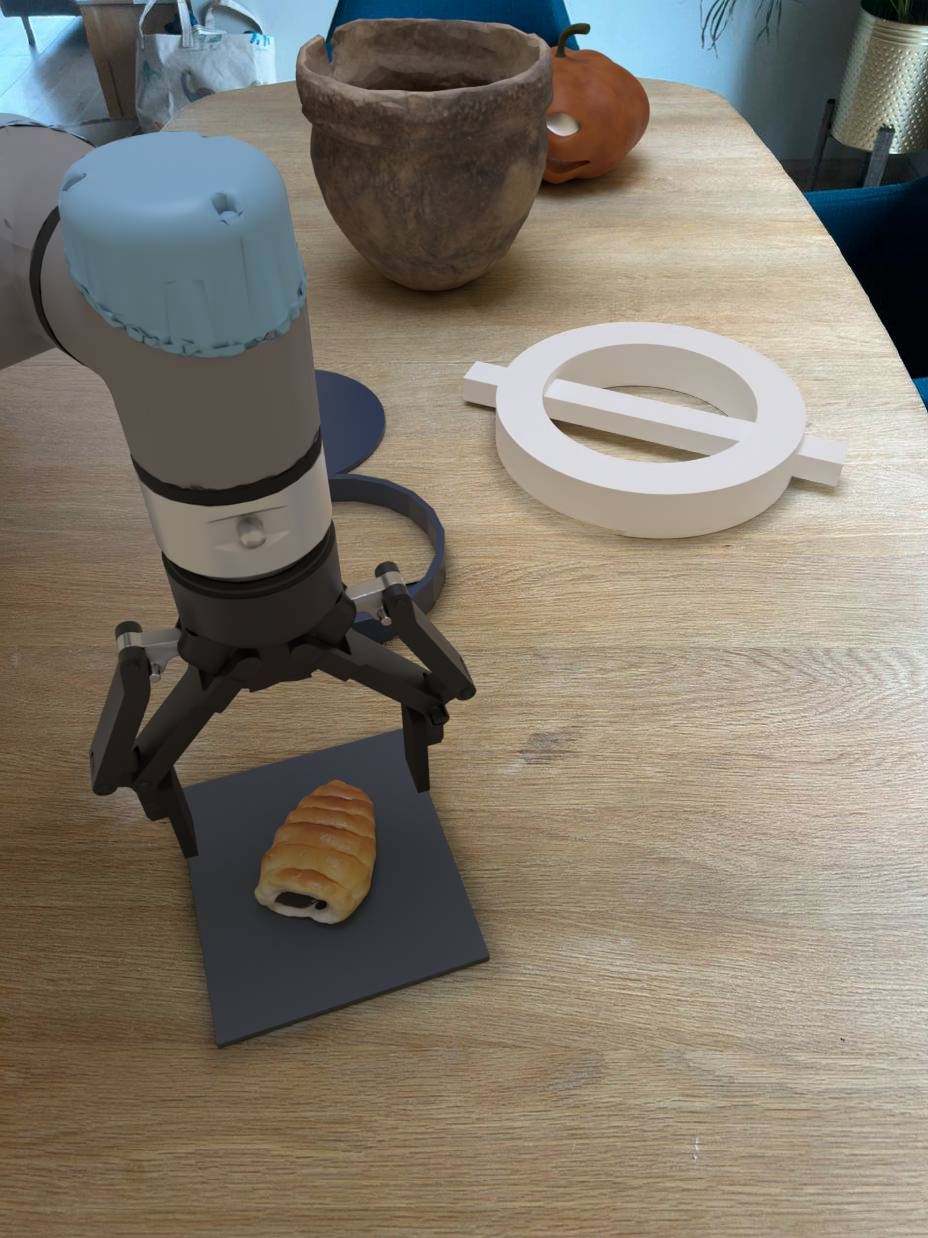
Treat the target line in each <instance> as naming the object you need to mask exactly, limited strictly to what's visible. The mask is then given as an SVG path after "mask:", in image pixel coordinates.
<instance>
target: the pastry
mask: <svg viewBox="0 0 928 1238" xmlns="http://www.w3.org/2000/svg"><path fill="white" fill-rule="evenodd" d="M375 826H376V825H375V817H374V807H373V804H372V802H371V800H370V799H369V797H368V795H367V794H365V793H364V792H363V791H362V790H361V789H359V788H357V787H354V786H352V785H348V784H345V783H344V782H342V781H340V780H333V781H331V782H329V783H328V784H326V785H321V786H320V787H318V788H317V789H316V790H315V791H314V792H313V793H312V794H310V795H309V796H305V797H304V798H303V799H302V800H301V801H300V802H299V804H298V807H297V809H296V810H294V811H291V812H290V813H289V815H288V816H287V818H286V821H285V823H284V825H283V826H281V827H279V828H278V829H277V831H276V834H275V837H274V841H273V845H272V847H271V849H269V850H267V851H266V852H265V854H264V855H263V858H262V860H261V876H260V880H259V884H258V886H257V888H256V889H255V897H256V899H257V900H258V902H259V903H260V904H262V905H265V906H268V908H269V909H271V910H273V911H275V912H277V913H280V914H283V915H286V916H297V917H311V918H313V919H314V920H316V921H318V922H322V923H328V924H334V923H337V922H340V921H343V920H344V919H346V918H347V917H348V916H349V915H350V914H351V913H353V912H354V910H355V909H356V908H357V906H358V905H359V904H360V903H361V901H362V900H363V899H364V897H365V896H366V895H367V893H368V891H369V889H370V884H371V876H372V872H373V866H374V862H375V858H376V838H375Z"/></svg>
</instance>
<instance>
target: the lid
mask: <svg viewBox="0 0 928 1238" xmlns="http://www.w3.org/2000/svg"><path fill="white" fill-rule="evenodd" d="M314 369H315V378H316V387H317V396H318V404H319V413H320V422H321V424H320V428H321V436H322V442H323V449H324V456H325V463H326V470H327V474H348V473H349V472H350V471H353V470H354V469H355V468H357V467H358V466H359V465H361V464H363V463H364V462H365V461H366V460H367V459H368V458H369V457H370V456H371V455H372V454H373V453H374V452H375V451H376V449H377V448H378V447H379V445H380V443H381V441H382V440H383V437H384V434H385V431H386V414H385V409H384V406H383V404H382V402H381V401H380V399H379V398H378V396H377V395H376V393H374V392H373V391H372V390H371V389H370V388H369V387H368V386H366V385H365V384H364V383H362V382H360V381H358V380H356V379H354V378H351V377H349V376H347V375H344V374H341V373H339V372H334V371H328V370H326V369H325V370H324V369H319V368H314Z"/></svg>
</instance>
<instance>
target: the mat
mask: <svg viewBox="0 0 928 1238" xmlns="http://www.w3.org/2000/svg"><path fill="white" fill-rule="evenodd" d="M333 780H340V781H342V782H344V783H345V784H348V785H352V786H354V787H357V788H359V789H361V790H362V791H363V792H364V793H365V794H367V795H368V797H369V799H370V800H371V802H372V804H373V807H374V817H375V825H376V826H375V838H376V858H375V862H374V866H373V872H372V876H371V884H370V889H369V891H368V893H367V895H366V896H365V897H364V899H363V900H362V901H361V903H360V904H359V905H358V906H357V908H356V909H355V910H354V912H353V913H351V914H350V915H349V916H348V917H347V918H346V919H344V920H343V921H340V922H337V923H334V924H328V923H322V922H318V921H316V920H314V919H313V918H311V917H297V916H286V915H283V914H280V913H277V912H275V911H273V910H271V909H269V908H268V906H265V905H262V904H260V903H259V902H258V900H257V899H256V897H255V889H256V888H257V886H258V884H259V880H260V876H261V860H262V858H263V855H264V854H265V852H266V851H267V850H269V849H271V847H272V845H273V841H274V837H275V834H276V831H277V829H278V828H279V827H281V826H283V825H284V823H285V821H286V818H287V816H288V815H289V813H290V812H291V811H294V810H296V809H297V807H298V804H299V802H300V801H301V800H302V799H303V798H304V797H305V796H309V795H310V794H312V793H313V792H314V791H315V790H316V789H317V788H318V787H320V786H321V785H326V784H328V783H329V782H331V781H333ZM182 790H183V793H184V795H185V798H186V801H187V804H188V806H189V809H190V812H191V815H192V818H193V824H194V830H195V836H196V842H197V848H198V854H199V855H198V856H194V857H191V858H187V864H188V871H189V876H190V882H191V883H190V884H191V889H192V895H193V902H194V908H195V909H194V910H195V914H196V921H197V927H198V935H199V940H200V946H201V952H202V959H203V965H204V972H205V978H206V984H207V990H208V991H207V992H208V997H209V1004H210V1010H211V1016H212V1022H213V1030H214V1034H215V1041H216V1046H217V1048H219V1049H220V1048H221V1049H222V1048H223V1047H227V1046H229V1045H233V1044H236V1043H240V1042H243V1041H246V1040H248V1039H251V1038H254V1037H257V1036H260V1035H263V1034H266V1033H269V1032H273V1031H276V1030H279V1029H282V1028H284V1027H288V1026H290V1025H294V1024H297V1023H299V1022H303V1021H306V1020H309V1019H312V1018H315V1017H318V1016H321V1015H324V1014H328V1013H331V1012H334V1011H336V1010H339V1009H343V1008H347V1007H349V1006H352V1005H355V1004H358V1003H362V1002H364V1001H367V1000H370V999H373V998H376V997H379V996H383V995H386V994H388V993H392V992H394V991H398V990H401V989H404V988H407V987H410V986H413V985H416V984H419V983H423V982H426V981H429V980H431V979H435V978H437V977H440V976H444V975H446V974H450V973H453V972H456V971H459V970H462V969H465V968H468V967H471V966H474V965H477V964H480V963H484V962H486V961H489V960H490V958H491V957H490V952H489V950H488V947H487V944H486V942H485V939H484V937H483V934H482V931H481V928H480V926H479V923H478V921H477V918H476V914H475V912H474V909H473V907H472V904H471V902H470V899H469V896H468V893H467V891H466V889H465V886H464V883H463V880H462V877H461V874H460V872H459V869H458V866H457V864H456V861H455V859H454V855H453V853H452V851H451V848H450V845H449V842H448V839H447V837H446V834H445V831H444V829H443V826H442V824H441V821H440V818H439V815H438V813H437V810H436V807H435V804H434V802H433V799H432V797H431V794H430V790H429V791H425V792H422V793H418V792H417V789H416V787H415V784H414V781H413V778H412V776H411V773H410V770H409V767H408V764H407V762H406V759H405V749H404V737H403V727H401V728H398V729H394V730H391V731H387V732H384V733H383V732H382V733H379V734H376V735H371V736H368V737H365V738H360V739H357V740H353V741H349V742H346V743H342V744H338V745H334V746H331V747H327V748H324V749H320V750H317V751H312V752H309V753H305V754H301V755H297V756H294V757H291V758H286V759H283V760H279V761H276V762H272V763H268V764H265V765H264V764H263V765H260V766H257V767H254V768H250V769H249V768H248V769H246V770H242V771H239V772H234V773H231V774H227V775H223V776H219V777H216V778H212V779H209V780H205V781H201V782H198V783H193V784H190V785H187V786H183V787H182Z"/></svg>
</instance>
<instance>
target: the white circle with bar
mask: <svg viewBox="0 0 928 1238" xmlns="http://www.w3.org/2000/svg"><path fill="white" fill-rule="evenodd" d="M627 386H628V387H629V386H634V387H635V386H638V387H639V386H640V387H651V388H652V387H653V388H659V389H666V390H672V391H675V392H679V393H682V394H685V395H689V396H692V397H695V398H697V399H699V400H702V401H703V402H706V403H708V404H710V405H711V406H714V407H715V408H717V409H718V410H719V411H721V412H723V413H724V415H722V414H719V413H713V412H709V411H704V410H699V409H695V408H691V407H687V406H682V405H677V404H673V403H667V402H665V401H660V400H655V399H650V398H647V397H641V396H636V395H633V394H627V393H624V392H619V391H614V390H609V389H608V388H613V387H627ZM462 400H463V401H464V402H465V401H466V402H470V403H474V404H478V405H482V406H487V407H491V408H495V446H496V451H497V454H498V457H499V459H500V462H501V464H502V465H503V468H504V469H505V471H506V472H507V473H508V475H509V476H510V477H511V478H512V480H513V481H514V482H515V483H516V484H517V485H518V486H519V487H520V488H521V489H522V490H523V491H525V492H526V493H527V494H528V495H530V496H531V497H532V498H533V499H535V500H537V501H538V502H540V503H541V504H543V505H544V506H546V507H548V508H549V509H552V510H553V511H555V512H558V513H560V514H562V515H564V516H567V517H568V518H571V519H574V520H577V521H580V522H583V523H586V524H589V525H592V526H596V527H602V528H605V529H608V530H616V531H619V532H618V533H615V536H616V535H617V536H623V537H629V538H630V537H631V538H638V539H639V538H640V539H662V540H663V539H664V540H665V539H680V538H691V537H699V536H703V535H710V534H714V533H718V532H721V531H724V530H728V529H731V528H734V527H736V526H739V525H740V524H743V523H746V522H748V521H750V520H752V519H754V518H756V517H757V516H759V515H761V514H763V512H765V511H766V510H768V509H769V508H770V507H771V506H773V505H774V504H775V503H776V502H777V501H778V500H779V499H780V498H781V497H782V495H783V494H784V493H785V491H786V489H787V488H788V486H789V485H790V482H791V481H792V478H798V479H802V480H807V481H811V482H815V483H820V484H823V485H828V486H830V487H831V486H832V487H837V486H838V482H839V481H840V476H841V473H842V470H843V468H844V463H845V461H846V457H847V454H848V450H849V447H850V443H848V442H844V441H839V440H835V439H830V438H826V437H823V436H816V435H813V434H809V433H805V431H806V426H807V417H808V416H807V408H806V404H805V401H804V400H805V399H804V397H803V395H802V393H801V391H800V390H799V388H798V386H797V385H796V383H795V382H794V381H793V380H792V379H791V377H790V376H789V375H788V374H787V373H786V372H785V370H783V369H782V368H781V367H780V366H778V364H776V363H775V362H773V361H772V360H771V359H769V358H768V357H767V356H765V355H764V354H762V353H760V352H759V351H757V350H755V349H753V348H752V347H749V346H747V345H745V344H744V343H741V342H738V341H736V340H734V339H732V338H729V337H726V336H723V335H720V334H718V333H714V332H711V331H708V330H703V329H699V328H695V327H690V326H685V325H680V324H673V323H666V322H665V323H663V322H652V321H617V322H606V323H598V324H590V325H586V326H581V327H578V328H572V329H569V330H566V331H563V332H559V333H557V334H554V335H551V336H549V337H547V338H545V339H542V340H540V341H538V342H537V343H535V344H533V345H531V346H529V347H528V348H526V349H525V350H524V351H522V352H521V353H519V355H517V356H516V357H515V358H514V359H513V360H512V361H511V362H510V363H509V364H508V365H507V367H506V366H501V365H497V364H493V363H489V362H483V361H481V360H479V361H478V360H476V361H475V362H474V363H473V364H472V366H471V367H470V368H469V370H467V372H466V374H465V375H464V376H463V377H462ZM551 419H552V420H557V421H561V422H565V423H569V424H574V425H578V426H583V427H585V428H590V429H595V430H599V431H604V432H607V433H612V434H617V435H620V436H624V437H628V438H634V439H637V440H642V441H645V442H646V441H647V442H650V443H654V444H659V445H663V446H666V447H667V446H668V447H671V448H676V449H680V450H683V451H689V452H692V453H697V454H702V455H705V456H706V457H702V458H698V459H692V460H685V461H676V462H649V461H648V462H647V461H637V460H630V459H625V458H619V457H617V456H616V457H615V456H612V455H609V454H605V453H602V452H599V451H596V450H594V449H591V448H589V447H587V446H585V445H583V444H581V443H578V442H577V441H575V440H573V439H572V438H570V437H569V436H567V435H566V434H565V433H564V432H563V431H562V430H560V429H559V428H558V427H557V426H556V425H555V424H554V422H553V421H552V420H551Z"/></svg>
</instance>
